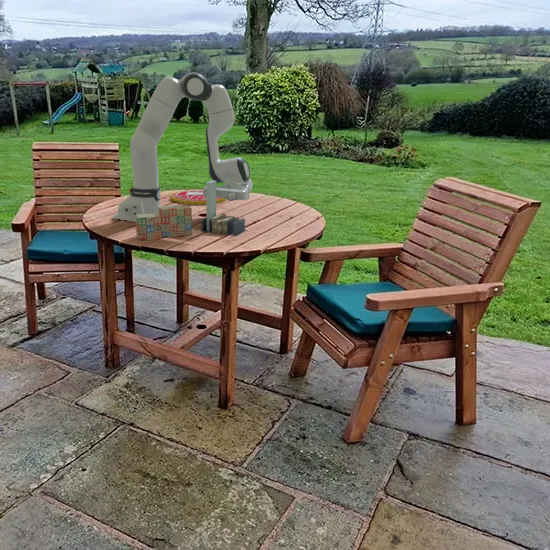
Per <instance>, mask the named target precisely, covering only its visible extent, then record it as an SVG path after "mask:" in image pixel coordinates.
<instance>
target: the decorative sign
mask: <svg viewBox="0 0 550 550" xmlns="http://www.w3.org/2000/svg"><path fill="white" fill-rule="evenodd" d="M170 199H171V200H170ZM169 200H170V201H171V202H173V201H175V202H178V203H177V204H179V203H181V204H180V205H185V204H191V205H190V206H206V196H204V195H203V190H199V189H196V190H193V189H192V190H184V191H181V190H180V191H178V192H174V193H172V194H170V196H169ZM223 201H225V202H226V201H227V200H226V199H225V198H219V197H216V205H218V204H223V203H224V202H223ZM175 202H174V203H175ZM222 202H223V203H222Z"/></svg>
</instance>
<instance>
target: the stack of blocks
mask: <svg viewBox="0 0 550 550" xmlns="http://www.w3.org/2000/svg"><path fill="white" fill-rule="evenodd" d="M192 209H193V208H192V207H191V205H185V204H173V205H161V206H158V214H139V215H136V222H135V229H136V231H135V232H136V238H137V239H139V240H140V241H151V240H150V239H154V240H155V239H157V240H163V239H162V238H168V237H177V236H192V234H193V215H192V212H193V211H192ZM139 240H138V241H139Z"/></svg>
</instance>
